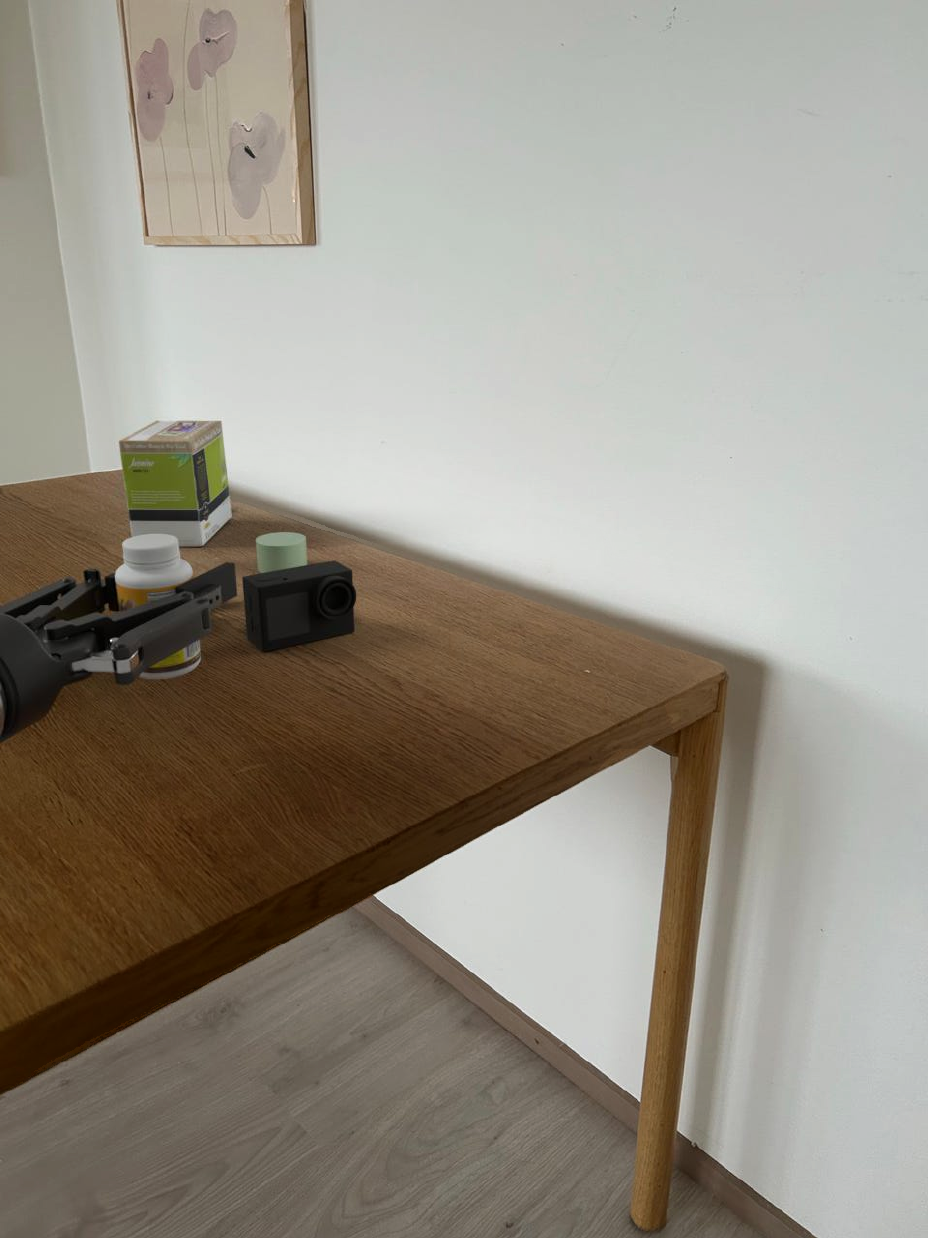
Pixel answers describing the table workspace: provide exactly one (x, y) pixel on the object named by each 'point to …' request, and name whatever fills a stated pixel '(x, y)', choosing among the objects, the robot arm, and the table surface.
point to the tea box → (176, 480)
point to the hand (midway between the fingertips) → (197, 574)
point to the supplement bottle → (155, 590)
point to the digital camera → (298, 605)
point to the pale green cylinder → (280, 551)
